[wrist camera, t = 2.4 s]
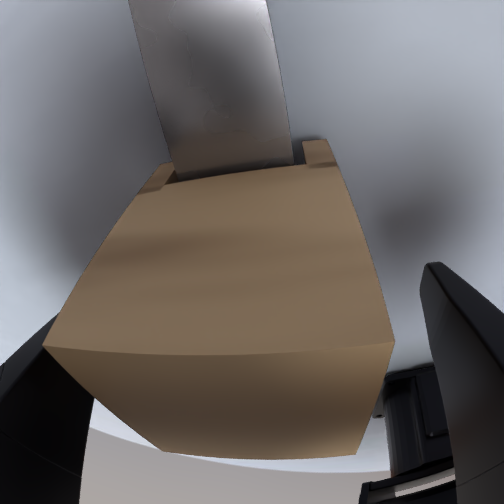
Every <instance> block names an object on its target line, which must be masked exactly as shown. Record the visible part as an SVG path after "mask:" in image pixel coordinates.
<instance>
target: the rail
mask: <svg viewBox="0 0 504 504" xmlns="http://www.w3.org/2000/svg"><path fill="white" fill-rule="evenodd" d="M128 2H129V6H130V10H131V14H132V19H133V23H134V27H135V31H136V35H137V39H138V43H139V47H140V50H141V54H142V58H143V62H144V66H145V69H146V73H147V77H148V80H149V84H150V88H151V91H152V95H153V98H154V102H155V105H156V109H157V112H158V116H159V119H160V122H161V126H162V129H163V133H164V136H165V139H166V142H167V146H168V149H169V152H170V156H171V159H172V162H173V165H174V168H175V172H176V175H177V178H178V181H179V182H184V181H189V180H195V179H201V178H207V177H213V176H220V175H226V174H233V173H240V172H247V171H254V170H262V169H269V168H277V167H286V166H295V162H294V155H293V148H292V141H291V134H290V127H289V121H288V114H287V108H286V102H285V96H284V90H283V84H282V78H281V73H280V67H279V61H278V56H277V51H276V45H275V40H274V35H273V30H272V25H271V20H270V15H269V10H268V6H267V1H266V0H128Z"/></svg>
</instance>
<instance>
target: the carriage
mask: <svg viewBox="0 0 504 504" xmlns="http://www.w3.org/2000/svg"><path fill="white" fill-rule="evenodd" d="M302 145H303V152H304V160H305V164H304V165H295V166H286V167H277V168H269V169H262V170H254V171H247V172H240V173H233V174H226V175H220V176H213V177H207V178H201V179H195V180H189V181H184V182H179V181H178V178H177V175H176V172H175V168H174V165H173V162H169V163H164V164H160V165H159V167H158V168H157V169H156V170H155V172H154V173H153V174H152V176H151V177H150V178H149V179H148V181H147V182H146V183H145V185H144V186H143V187H142V188H141V190H140V191H139V192H138V194H137V195H136V196H135V198H134V199H133V200H132V202H131V203H130V204H129V206H128V207H127V209H126V210H125V211H124V213H123V214H122V215H121V217H120V218H119V220H118V221H117V222H116V224H115V225H114V227H113V228H112V230H111V231H110V233H109V234H108V235H107V237H106V238H105V240H104V241H103V243H102V244H101V246H100V247H99V249H98V250H97V252H96V253H95V255H94V256H93V258H92V260H91V261H90V263H89V264H88V266H87V267H86V269H85V271H84V272H83V274H82V275H81V277H80V279H79V280H78V282H77V284H76V285H75V287H74V289H73V290H72V292H71V294H70V295H69V297H68V299H67V300H66V302H65V304H64V306H63V307H62V309H61V311H60V313H59V314H58V316H57V318H56V320H55V322H54V324H53V325H52V327H51V329H50V331H49V333H48V335H47V337H46V339H45V340H44V342H43V344H42V346H43V347H44V348H45V349H46V350H47V351H48V352H49V353H50V354H51V355H52V356H53V357H54V359H55V360H56V361H57V362H58V363H59V364H60V365H61V366H62V367H63V368H64V369H65V370H66V371H67V372H68V373H69V374H70V375H71V376H72V377H73V378H74V379H75V380H76V381H77V382H78V383H79V384H80V385H82V386H83V387H84V388H85V389H86V390H87V391H88V392H89V393H90V394H91V395H92V396H93V397H95V398H96V399H97V400H98V401H99V402H100V403H101V404H102V405H104V406H105V407H106V408H107V409H108V410H109V411H111V412H112V413H113V414H114V415H115V416H117V417H118V418H119V419H120V420H122V421H123V422H124V423H125V424H127V425H128V426H129V427H130V428H132V429H133V430H134V431H135V432H137V433H138V434H139V435H141V436H142V437H143V438H145V439H146V440H147V441H149V442H150V443H152V444H153V445H154V446H156V447H157V448H159V449H160V450H161V451H164V452H171V453H179V454H186V455H195V456H205V457H217V458H233V459H265V460H277V459H309V458H324V457H336V456H346V455H355V454H356V452H357V450H358V448H359V445H360V443H361V440H362V438H363V435H364V433H365V430H366V428H367V425H368V423H369V420H370V417H371V415H372V412H373V409H374V407H375V404H376V401H377V398H378V395H379V392H380V389H381V386H382V383H383V380H384V377H385V374H386V371H387V368H388V364H389V361H390V358H391V354H392V351H393V347H394V344H395V339H394V335H393V331H392V327H391V323H390V319H389V315H388V312H387V308H386V304H385V301H384V297H383V294H382V290H381V287H380V284H379V280H378V277H377V274H376V270H375V267H374V264H373V261H372V258H371V255H370V252H369V249H368V246H367V243H366V240H365V237H364V234H363V231H362V228H361V225H360V222H359V220H358V217H357V214H356V211H355V209H354V206H353V203H352V200H351V198H350V195H349V193H348V190H347V187H346V185H345V182H344V180H343V177H342V175H341V172H340V170H339V167H338V165H337V162H336V160H335V158H334V155H333V153H332V151H331V148H330V146H329V144H328V141H327V139H321V140H311V141H302Z"/></svg>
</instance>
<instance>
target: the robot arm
mask: <svg viewBox="0 0 504 504" xmlns="http://www.w3.org/2000/svg"><path fill="white" fill-rule="evenodd" d="M420 298H421V302H422V307H423V312H424V317H425V323H426V328H427V334H428V340H429V345H430V350H431V354H432V357H433V361H434V365H435V367H430V368H425V369H419V370H414V371H408V372H402V373H396V374H391V375H388V376H386V377H385V378H384V380H383V383H382V386H381V389H380V392H379V395H378V398H377V401H376V404H375V407H374V409H373V412H372V416H373V418H383V417H385V423H386V431H387V440H388V449H389V459H390V471H391V478H388V479H384V480H381V481H376V482H372V481H370V482H366V483H363V484H362V488H361V494H360V497H359V504H504V313H503V312H501V311H500V310H499V309H498V308H497V307H496V306H495V305H493V304H492V303H491V302H490V301H489V300H488V299H486V298H485V297H484V296H483V295H482V294H481V293H479V292H478V291H477V290H476V289H475V288H473V287H472V286H471V285H470V284H468V283H467V282H466V281H465V280H464V279H462V278H461V277H460V276H459V275H457V274H456V273H455V272H453V271H452V270H451V269H450V268H448V267H447V266H446V265H445V264H443V263H442V262H431V263H427V264H426V265H425V267H424V271H423V275H422V280H421V284H420ZM59 313H60V312H59ZM59 313H58V314H59ZM58 314H57V315H56V316H55V317H53V318H52V319H51V320H50V321H49V322H48V323H47V324H45V325H44V326H43V327H42V328H41V329H40V330H39V331H38V332H36V333H35V334H34V335H33V336H32V337H31V338H30V339H29V340H28V341H27V342H25V343H24V344H23V345H22V346H21V347H20V348H19V349H18V350H17V351H16V352H15V353H14V354H13V355H11V356H10V357H9V358H8V359H7V360H6V362H4V363H3V364H2V365H1V366H0V504H79V499H80V489H81V479H82V478H81V477H82V470H83V462H84V455H85V448H86V442H87V436H88V430H89V424H90V419H91V413H92V408H93V403H94V398H95V397H93V396H92V395H91V394H90V393H89V392H88V391H87V390H86V389H85V388H84V387H83V386H82V385H80V384H79V383H78V382H77V381H76V380H75V379H74V378H73V377H72V376H71V375H70V374H69V373H68V372H67V371H66V370H65V369H64V368H63V367H62V366H61V365H60V364H59V363H58V362H57V361H56V360H55V359H54V357H53V356H52V355H51V354H50V353H49V352H48V351H47V350H46V349H45V348H44V347H43V346H42V344H43V342H44V340H45V339H46V337H47V335H48V333H49V331H50V329H51V327H52V325H53V324H54V322H55V320H56V318H57V316H58ZM454 474H455V478H456V479H455V480H453V481H450V482H447V483H444V484H441V485H438V486H435V487H432V488H428V489H425V490H421V491H418V492H414V493H411V494H407V495H403V496H399V497H396V496H395V492H398V491H402V490H406V489H409V488H413V487H417V486H420V485H423V484H427V483H430V482H433V481H436V480H439V479H442V478H445V477H448V476H451V475H454Z"/></svg>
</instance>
